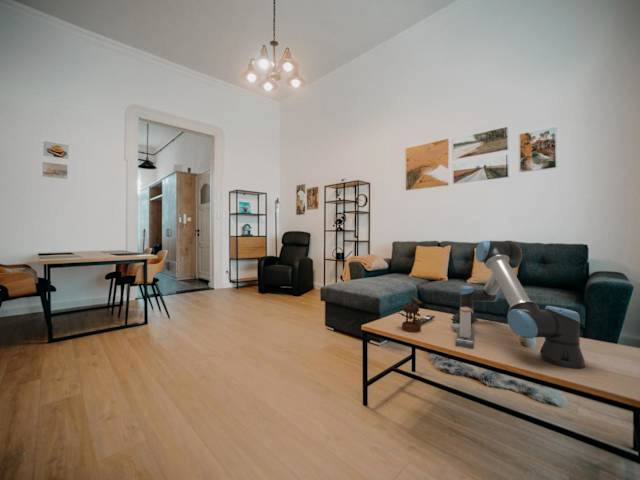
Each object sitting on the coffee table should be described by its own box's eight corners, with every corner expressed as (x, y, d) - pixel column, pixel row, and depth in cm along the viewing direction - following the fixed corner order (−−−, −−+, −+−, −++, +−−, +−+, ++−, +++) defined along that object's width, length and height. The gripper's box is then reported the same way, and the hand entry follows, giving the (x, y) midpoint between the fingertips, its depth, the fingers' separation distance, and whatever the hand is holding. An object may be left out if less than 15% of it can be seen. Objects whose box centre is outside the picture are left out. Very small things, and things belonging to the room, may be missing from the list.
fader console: (457, 335, 157) (457, 331, 157) (473, 338, 154) (473, 334, 154) (455, 345, 142) (455, 341, 142) (473, 348, 138) (473, 344, 138)
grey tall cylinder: (459, 333, 153) (460, 306, 153) (470, 335, 151) (471, 308, 151) (459, 336, 149) (459, 308, 149) (470, 338, 146) (471, 310, 146)
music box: (426, 330, 166) (426, 296, 165) (418, 336, 158) (417, 300, 157) (403, 324, 177) (402, 292, 175) (393, 329, 169) (393, 296, 168)
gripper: (478, 322, 170) (478, 333, 149) (454, 318, 176) (450, 329, 155) (478, 309, 170) (478, 318, 149) (454, 306, 176) (451, 315, 155)
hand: (464, 324), depth 152 cm, fingers closed
